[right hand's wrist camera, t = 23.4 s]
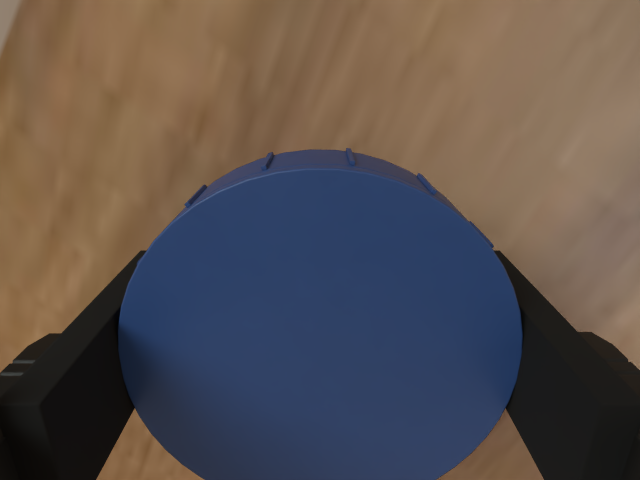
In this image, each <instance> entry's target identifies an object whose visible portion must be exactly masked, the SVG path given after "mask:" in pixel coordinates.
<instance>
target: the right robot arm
mask: <svg viewBox="0 0 640 480" xmlns="http://www.w3.org/2000/svg"><path fill="white" fill-rule="evenodd" d="M494 252H495V254H496V255H497V257H498V258H499V260H500V261H501V263H502V264H503V266H504V268H505V270H506V272H507V274H508V276H509V279H510V281H511V283H512V285H513V287H514V291H515V294H516V298H517V301H518V305H519V309H520V314H521V323H522V332H523V340H522V355H521V360H520V366H519V371H518V376H517V381H516V384H515V387H514V389H513V392H512V395H511V398H510V400H509V402H508V404H507V406H506V410H507V411H508V413H509V415H510V417H511V419H512V421H513V423H514V424H515V426H516V428H517V430H518V432H519V434H520V436H521V437H522V439H523V441H524V443H525V445H526V447H527V449H528V450H529V452H530V454H531V456H532V458H533V460H534V462H535V463H536V465H537V467H538V469H539V471H540V473H541V475H542V476H543V478H544V480H640V370H639V369H638V368H637V367H636V366H635V365H634V364H633V363H631V362H628V359H627V358H626V357H625V356H624V355H623V354H622V353H621V352H620V351H619V350H618V349H617V348H616V347H615V346H614V345H613V344H611V343H609V342H607V341H606V340H604V339H602V338H601V337H599V336H597V335H595V334H594V333H592V332H577V331H576V330H575V329H574V328H573V327H572V326H571V325H570V324H569V323H568V322H567V320H566V319H565V318H564V317H563V316H562V315H561V314H560V313H559V312H558V311H557V310H556V309H555V308H554V307H553V306H552V305H551V304H550V303H549V302H548V301H547V300H546V299H545V298H544V297H543V295H542V294H541V293H540V292H539V291H538V290H537V289H536V288H535V287H534V286H533V285H532V284H531V283H530V282H529V281H528V280H527V279H526V278H525V277H524V276H523V275H522V274H521V273H520V271H519V270H518V269H517V268H516V267H515V266H514V265H513V264H512V263H511V262H510V261H509V260H508V259H507V258H506V257H505V256H504V255H503V254H502V253H501V252H500V251H494ZM145 253H146V251H140V252H139V253H138V254H137V255H136V256H135V257H134V258H133V259H132V260H131V261H130V262H129V263H128V265H127V266H126V267H125V268H124V269H123V270H122V271H121V272H120V273H119V274H118V275H117V276H116V277H115V278H114V279H113V280H112V281H111V282H110V283H109V284H108V285H107V286H106V287H105V288H104V290H103V291H102V292H101V293H100V294H99V295H98V296H97V297H96V298H95V299H94V300H93V301H92V302H91V303H90V304H89V305H88V306H87V307H86V308H85V309H84V310H83V311H82V312H81V314H80V315H79V316H78V317H77V318H76V319H75V320H74V321H73V322H72V323H71V324H70V325H69V326H68V327H67V328H66V329H65V330H64V331H63V332H62V333H61V334H48V335H46V336H45V337H43V338H41V339H39V340H38V341H36V342H34V343H32V344H31V345H29V346H28V347H27V348H25V349H24V350H23V351H22V352H21V353H20V354H19V355H18V356H17V357H16V358H15V359H14V360H13V363H12V364H9V365H8V366H7V367H6V368H5V369H4V370H3V371H2V372H1V373H0V480H96V479H97V477H98V475H99V473H100V471H101V470H102V468H103V466H104V464H105V462H106V460H107V458H108V457H109V455H110V453H111V451H112V449H113V447H114V445H115V444H116V442H117V440H118V438H119V436H120V434H121V432H122V431H123V429H124V427H125V425H126V423H127V421H128V419H129V418H130V416H131V414H132V412H133V410H134V408H135V407H134V405H133V403H132V401H131V399H130V397H129V394H128V391H127V388H126V385H125V382H124V379H123V374H122V368H121V363H120V358H119V352H118V325H119V318H120V311H121V305H122V302H123V299H124V296H125V292H126V289H127V286H128V283H129V281H130V279H131V277H132V275H133V273H134V271H135V269H136V267H137V262H138V261H139V259H140V258H141V257H142V256H143V255H144V254H145Z"/></svg>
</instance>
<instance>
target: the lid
mask: <svg viewBox="0 0 640 480" xmlns="http://www.w3.org/2000/svg"><path fill="white" fill-rule="evenodd" d="M185 206H186V207H185V208H184V209H183V210H182V211H181V212H180V213H179V215H178V216H177V217H176V218H175V219H174V220H173V221H172V222H171V223H170V224H169V225H168V226H167V227H166V228H165V229H164V230H163V231H162V233H161V234H160V235H159V236H158V237H157V238H156V239H155V240H154V241H153V243H152V244H151V245H150V247H149V248H148V250H147V251H146V253H145V254H144V255H143V256H142V257H141V258H140V259H139V261H138V262H137V267H136V269H135V271H134V273H133V275H132V277H131V279H130V281H129V283H128V286H127V289H126V292H125V296H124V299H123V302H122V305H121V311H120V318H119V325H118V352H119V358H120V363H121V368H122V374H123V379H124V382H125V385H126V388H127V391H128V394H129V397H130V399H131V401H132V403H133V405H134V407H135V409H136V411H137V413H138V415H139V416H140V418H141V419H142V421H143V422H144V424H145V425H146V427H147V428H148V430H149V431H150V432H151V434H152V435H153V436H154V437H155V438H156V439H157V441H158V442H159V443H160V444H161V445H162V446H163V447H164V448H165V450H166V451H168V452H169V453H170V454H171V455H172V456H173V457H174V458H176V459H177V460H178V461H179V462H180V463H181V464H182V465H184V466H185V467H187V468H188V469H190V470H191V471H192V472H194V473H195V474H197V475H198V476H200V477H201V478H203V479H205V480H436V479H438V478H439V477H441V476H442V475H444V474H445V473H447V472H448V471H450V470H451V469H453V468H454V467H456V466H457V465H458V464H459V463H460V462H461V461H463V460H464V459H465V458H466V457H467V456H469V455H470V454H471V453H472V452H473V451H474V450H475V449H476V448H477V447H478V446H479V444H480V443H481V442H482V441H483V440H484V439H485V438H486V437H487V436H488V434H489V433H490V431H491V430H492V429H493V427H494V426H495V425H496V423H497V422H498V420H499V419H500V417H501V415H502V413H503V411H504V410H505V408H506V406H507V404H508V402H509V400H510V398H511V395H512V392H513V389H514V387H515V384H516V381H517V376H518V371H519V366H520V360H521V355H522V340H523V332H522V323H521V314H520V309H519V305H518V301H517V298H516V294H515V291H514V287H513V285H512V283H511V281H510V279H509V276H508V274H507V272H506V270H505V268H504V266H503V264H502V263H501V261H500V260H499V258H498V257H497V255H496V254H495V252H494V251H493V249H492V248H493V247H494V246H493V244H492V243H491V242H490V241H489V240H488V239H487V238H486V237H485V236H484V235H483V233H482V232H481V231H480V230H479V229H478V228H477V227H476V226H475V225H474V224H473V223H472V222H471V221H470V222H469V221H468V220H467V219H466V218H465V217H464V216H463V215H462V214H461V213H460V212H459V211H458V210H457V209H456V208H455V207H454V205H453V204H452V203H451V202H450V201H449V200H448V199H447V198H446V197H445V196H443V195H442V194H441V193H440V192H439V191H437V190H436V189H435V188H434V187H433V186H432V185H431V184H430V183H429V182H428V181H427V180H426V179H425V178H424V176H423V175H421V174H420V173H418V175H417V176H416V175H414V174H413V173H411V172H409V171H408V170H406V169H403V168H401V167H399V166H396V165H394V164H392V163H389V162H387V161H385V160H381V159H378V158H374V157H371V156H367V155H364V154H360V153H353V152H352V151H351V149H349V148H346V151H339V150H303V151H294V152H286V153H281V154H277V155H273V152H271V153H268V155H267V157H266V158H262V159H259V160H256V161H254V162H251V163H249V164H246V165H244V166H241V167H239V168H236V169H235V170H233V171H231V172H230V173H228V174H226V175H224V176H223V177H221V178H219V179H217V180H216V181H214V182H213V183H212V184H211V185H209V186H208V187H207V186H206V185H203V186H202V187H201V188H200V189H199V190H198V191H197V192H196V193H195V194H194V195H193V196H192V197H191V198H190V199H189V200H188V201H187V202H186V203H185Z"/></svg>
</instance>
